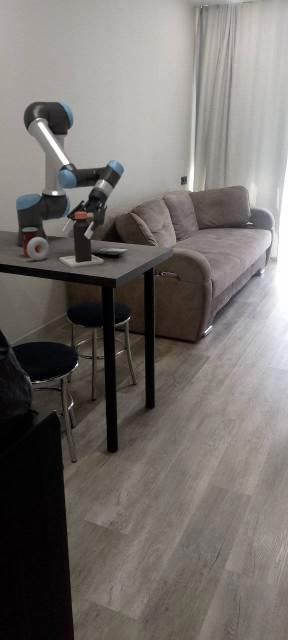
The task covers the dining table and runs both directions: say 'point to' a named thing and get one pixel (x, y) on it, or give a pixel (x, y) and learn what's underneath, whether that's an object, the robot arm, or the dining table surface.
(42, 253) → the donut
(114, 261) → the dining table surface
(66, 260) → the tray
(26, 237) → the soda can
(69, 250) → the dining table surface
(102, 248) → the dining table surface
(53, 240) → the dining table surface
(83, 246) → the vinegar
